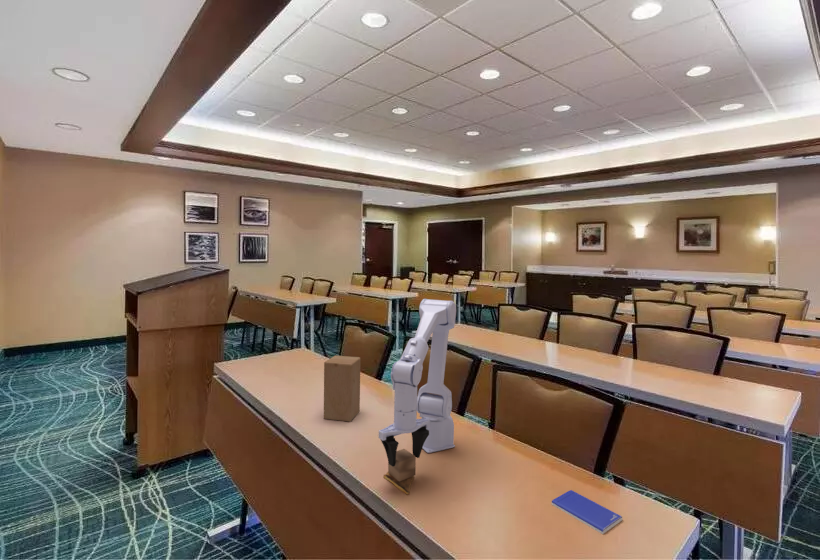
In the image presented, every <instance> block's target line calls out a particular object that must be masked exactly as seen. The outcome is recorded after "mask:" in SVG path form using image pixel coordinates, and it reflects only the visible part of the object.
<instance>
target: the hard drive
mask: <svg viewBox="0 0 820 560" xmlns="http://www.w3.org/2000/svg"><path fill="white" fill-rule="evenodd" d="M551 505H552V506H553V507H555V508H556V509H558V510H560V511H562V512H564V513H565V514H567V515H568V516H570V517H572V518H574V519H576V520H577V521H579V522H581V523H583V524H584V525H586V526H587V527H590V528H591V529H593V530H594V531H596V532H598V533H599V534H602V535H603V534H605V533H607V532H608V531H610V529H612V528H614V527H615V526H617V524H619V523H621V522H622V521H623V516H622V515H621V514H618V513H616V512H614V511H613V510H610V509H608V508H606V507H605V506H602V505H600V504H599V503H597V502H595V501H593V500H591V499H589V498H588V497H586V496H584V495H582V494H580V493H578V492H576V491H574V490H572V489H571V490H570V489H569V490H568V491H566V492H564V493H562V494H561V495H559V496H558V497H555V498H554V499H552V500H551Z"/></svg>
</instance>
